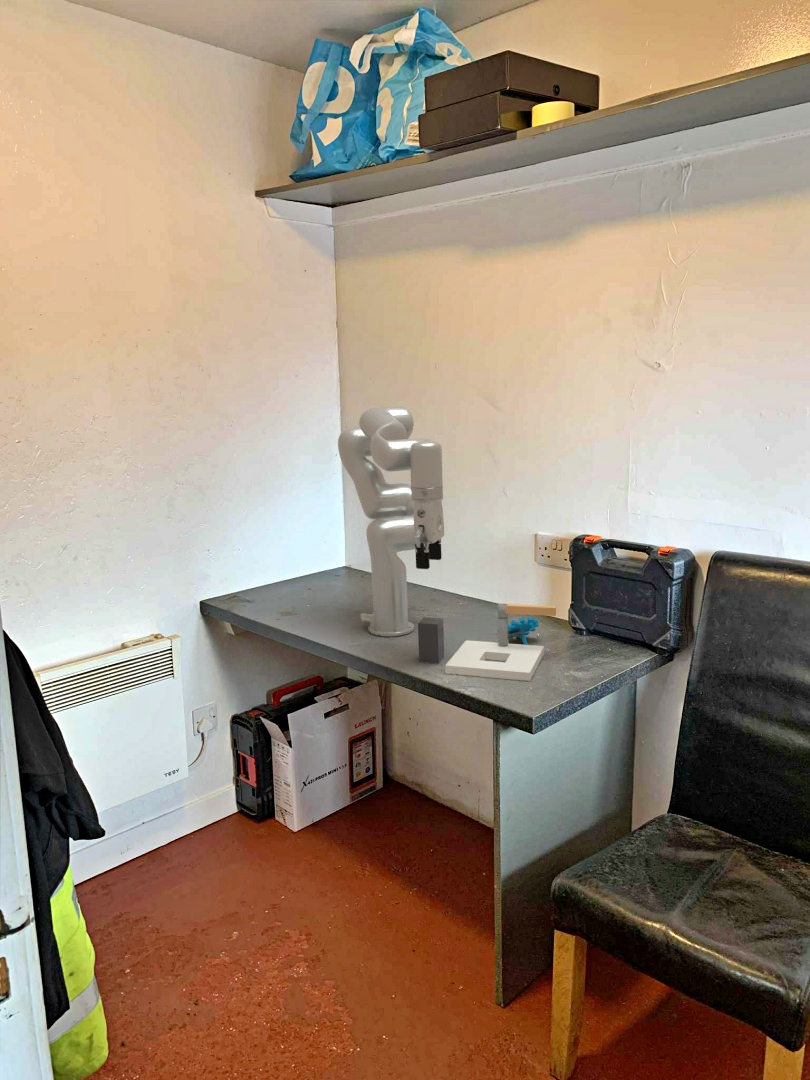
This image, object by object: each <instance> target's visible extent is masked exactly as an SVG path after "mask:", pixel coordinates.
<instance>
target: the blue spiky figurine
mask: <svg viewBox="0 0 810 1080" xmlns="http://www.w3.org/2000/svg"><path fill="white" fill-rule="evenodd" d="M539 627H540V625H539V620H538V618H533V617H531V616H529V617H527V620H525V617H521V618H519V621H516V620H515V619H514V620H512V621H511V622H510V624H508V640H510V639H514V638H516V639H519V638H521V641H522V643H523V644H522V645H529V643H528V641H527V638H526V637H527V636H528V635H529V634H530V632H536V629H537V628H539ZM508 644H510V642H509V641H508Z"/></svg>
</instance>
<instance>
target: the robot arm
mask: <svg viewBox="0 0 810 1080" xmlns="http://www.w3.org/2000/svg"><path fill="white" fill-rule="evenodd" d="M358 421H359V422H358V426H355V427H350V428H347V429H345V430H343V431H342V432H341V433H340V434H339V436H338V438H337V440H338V441H337V449H338V454H339V458H340V461H341V464H342V466H343V467H344V469H345V470H346V472H347V474H348V475H349V477H350V478H351V480H352V482H353V484H354V487H355V490H356V494H357V496H358V499H359V502H360V505H361V508H362V510H363V513H364V515H365V516H366V518H368V519H370V520H372V521H371V522H370V523H369V524H368V525H367V528H366V533H365V534H366V541H367V546H368V551H369V556H370V564H371V566H370V568H371V584H372V585H371V587H372V588H371V589H372V610H373V611H372V613H363V612H362V613H360V621H361V622H362V623H369V625H368V632H369V631H370V632H371V633H370V632H369V633H370V634H372V633H373V634H372V635H374V634H375V635H374V636H378V635H380V637H400V636H406V635H407V634H410V633H412V632H413V631H414V630H415V625H414V623H412V622H411V621H409V612H408V611H409V610H408V609H409V608H408V581H407V577H408V576H407V566H406V564H405V563H404V561H403V560H402V558H400V556H399V555H398V553H399V552H404V551H413V550H414V551H415V568H416V569H418V570H419V569H421V570H429V569H430V560H431V561H433V560H435V561H441V560H442V539H443V537H444V536H445V521H444V511H443V510H444V509H443V500H444V489H443V488H444V487H443V482H444V481H443V480H444V479H443V449H442V444H441V443H439V442H438V441H433V440H431V439H429V438H423V437H421V438H410V436H411V435H412V433H413V430H414V426H415V425H414V418H413V415H412V414H411V412H410V410H409V409H407V408H406V407H405V406H404V407H403V406H390V407H389V406H387V407H386V406H385V407H383V406H382V407H381V406H380V407H372V408H368V409H366V410H365V411H364V412H363V413H362V414H361V415H360V417H359V420H358ZM367 457H371V458H372V461H373V462H372V461H371V460H370V459H368V458H367ZM381 469H382V470H384V471H385V472H391V473H392V472H401V471H410V483H409V484H408V483H402V482H401V483H391V484H389V483H387V482H386V480H385V477H384V473H383V472H382V470H381Z"/></svg>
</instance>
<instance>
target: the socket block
mask: <svg viewBox="0 0 810 1080" xmlns="http://www.w3.org/2000/svg"><path fill="white" fill-rule="evenodd" d="M508 617H509V616H508ZM508 617H506V618H500V617H498V616H497V636H498V637H497V641H498V642H492V641H482V640H480V641H479V640H467V639H466V640H465V641H464V642H463V643H462V645H461V646H460V647H459V648H458V649H457V651H456V652H454V654H453V656H452V657H451V658H450V659H449V660H448V661H447V663H446V664H445V666H444V670H445V672H444V673H446V675H447V674H448V675H456V674H458V675H459V676H460V675H461V676H468V677H469V676H470V677H478V676H479V677H480V678H491V679H492V678H493V679H501V680H511V681H512V680H513V681H524V682H525V681H526V682H531V680H532V678H533V676H534V674H535V673H536V670H537V668H538V666H539V664H540V662H541V660H542V658H543V656H544V654H545V646H544V645H531V644H528V645H524V644H520V643H509V644H508V642H509V638H508V625H509V623H508V622H509V618H508Z"/></svg>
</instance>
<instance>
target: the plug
mask: <svg viewBox="0 0 810 1080" xmlns="http://www.w3.org/2000/svg"><path fill="white" fill-rule="evenodd" d="M444 628H445V627H444V618H443V617H429V616H428V617H426V616H424V617H422V619H420V621H418V622H417V632H418V633H417V634H418V635H417V639H418V641H417V642H418V662H419V663H426V662H427V663H426V664H428V663H429V664H436V663H438V664H440V663H441V662H442V660H443V659H444V658H445V637H444V635H445V634H444V633H445V632H444V631H445V630H444ZM438 664H437V665H438Z"/></svg>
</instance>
